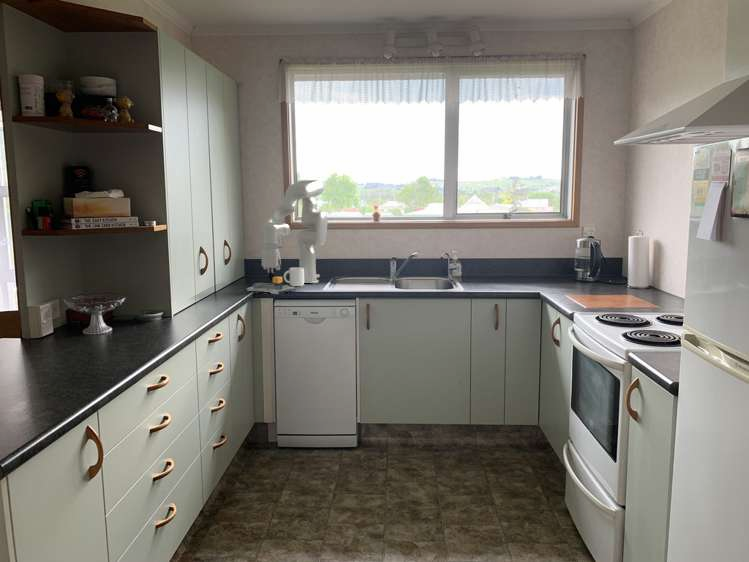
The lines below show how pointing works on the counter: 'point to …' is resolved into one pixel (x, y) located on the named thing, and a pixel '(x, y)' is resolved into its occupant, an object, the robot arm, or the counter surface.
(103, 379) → the counter surface
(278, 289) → the slider switch board
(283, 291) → the grey bar
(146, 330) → the counter surface
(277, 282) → the orange block
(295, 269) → the mug
